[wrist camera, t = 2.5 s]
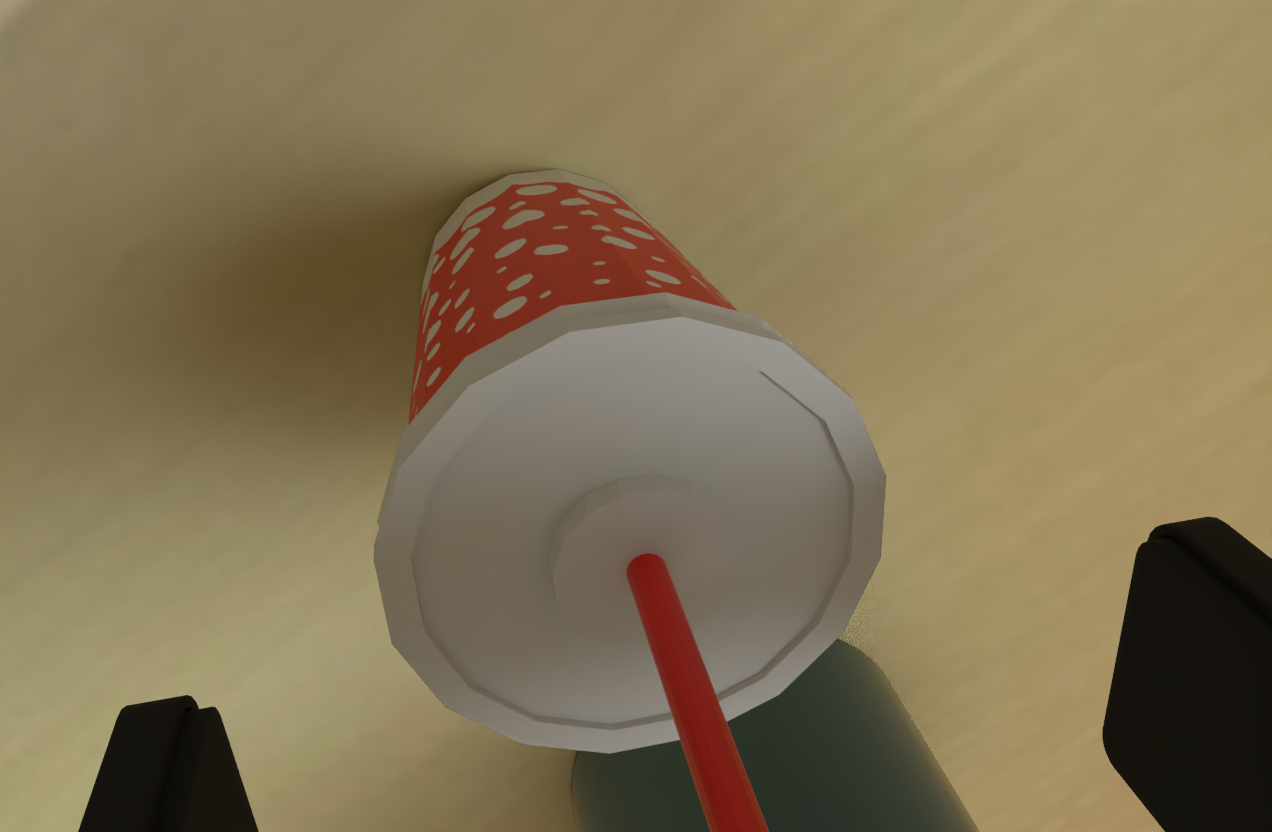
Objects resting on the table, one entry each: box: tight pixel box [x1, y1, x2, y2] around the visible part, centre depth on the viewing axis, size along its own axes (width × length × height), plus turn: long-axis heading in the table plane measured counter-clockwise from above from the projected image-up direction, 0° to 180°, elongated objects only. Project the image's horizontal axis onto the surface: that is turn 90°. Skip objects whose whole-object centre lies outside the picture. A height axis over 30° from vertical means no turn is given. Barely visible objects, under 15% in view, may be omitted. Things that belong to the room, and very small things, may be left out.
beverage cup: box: [374, 169, 886, 832], centre depth 14 cm, size 6×6×14 cm
